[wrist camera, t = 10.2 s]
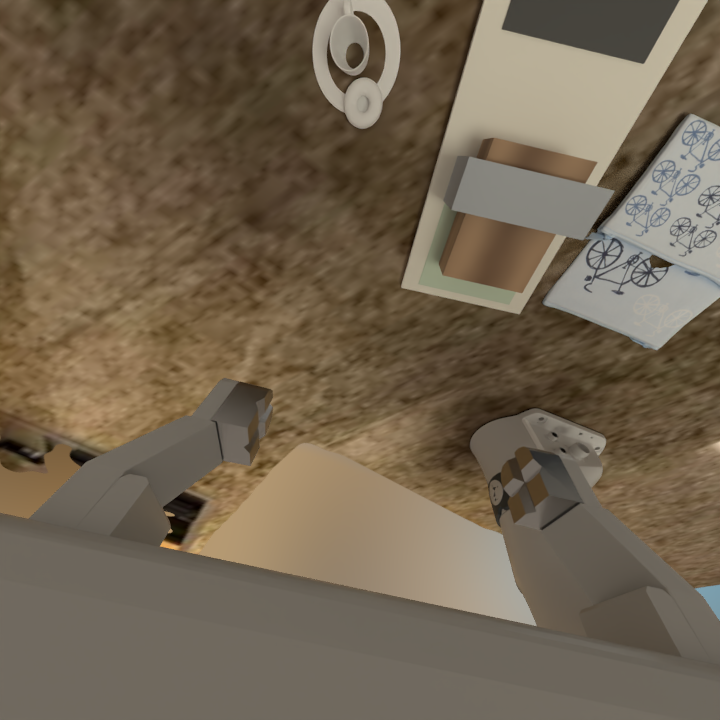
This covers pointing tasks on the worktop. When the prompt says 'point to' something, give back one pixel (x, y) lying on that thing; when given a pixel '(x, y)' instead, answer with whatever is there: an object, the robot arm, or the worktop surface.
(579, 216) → the tunnel
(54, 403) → the worktop surface
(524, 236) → the wood grain block
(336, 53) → the white ring-shaped piece
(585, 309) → the bicycle print towel
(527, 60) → the board
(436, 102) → the worktop surface
